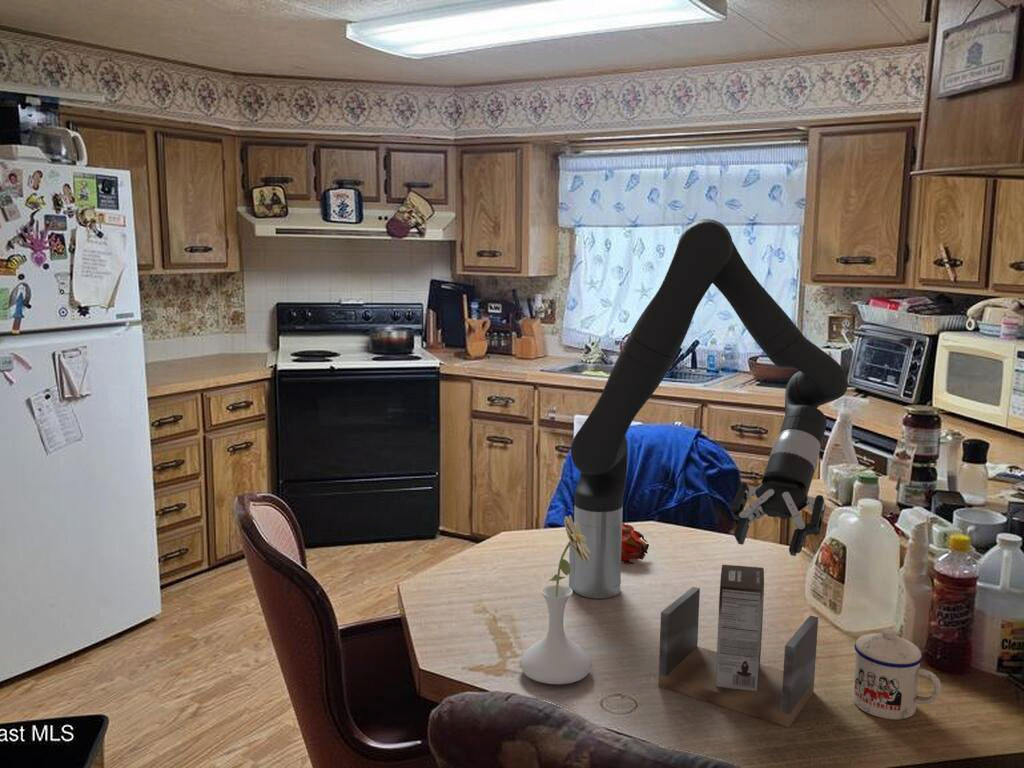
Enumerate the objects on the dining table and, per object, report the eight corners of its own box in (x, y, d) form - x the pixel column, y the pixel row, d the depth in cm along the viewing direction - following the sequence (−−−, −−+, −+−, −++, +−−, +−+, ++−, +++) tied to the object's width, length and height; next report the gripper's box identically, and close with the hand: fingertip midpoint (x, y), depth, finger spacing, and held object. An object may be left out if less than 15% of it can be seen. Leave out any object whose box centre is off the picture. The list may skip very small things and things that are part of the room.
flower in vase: (570, 699, 129) (573, 538, 125) (505, 679, 135) (506, 525, 131) (608, 664, 140) (612, 515, 136) (547, 646, 146) (548, 503, 142)
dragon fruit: (605, 556, 192) (644, 581, 183) (585, 542, 187) (623, 566, 177) (626, 524, 193) (665, 546, 184) (606, 508, 188) (645, 531, 178)
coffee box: (716, 659, 138) (721, 562, 135) (758, 664, 136) (764, 566, 133) (715, 687, 129) (719, 584, 126) (759, 693, 127) (765, 589, 125)
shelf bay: (658, 685, 133) (660, 612, 131) (690, 655, 143) (692, 586, 141) (788, 727, 122) (793, 647, 120) (813, 691, 132) (818, 617, 130)
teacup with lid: (840, 705, 128) (846, 631, 126) (864, 683, 134) (869, 612, 132) (926, 737, 120) (933, 658, 118) (947, 711, 126) (954, 636, 124)
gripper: (746, 444, 147) (717, 527, 139) (832, 457, 139) (806, 545, 131) (755, 468, 152) (727, 549, 145) (839, 481, 144) (814, 568, 136)
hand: (765, 547), depth 138 cm, fingers open, 8 cm apart
